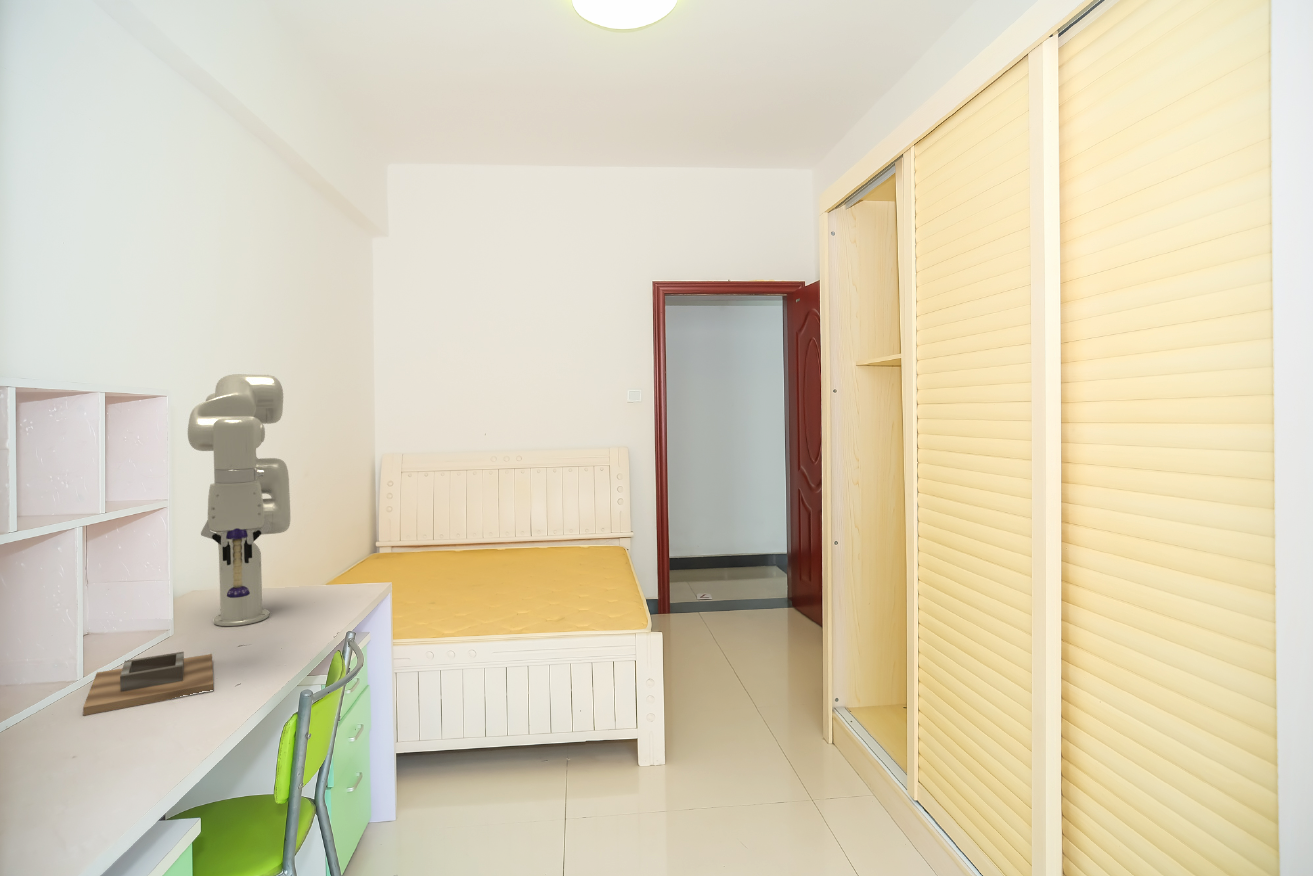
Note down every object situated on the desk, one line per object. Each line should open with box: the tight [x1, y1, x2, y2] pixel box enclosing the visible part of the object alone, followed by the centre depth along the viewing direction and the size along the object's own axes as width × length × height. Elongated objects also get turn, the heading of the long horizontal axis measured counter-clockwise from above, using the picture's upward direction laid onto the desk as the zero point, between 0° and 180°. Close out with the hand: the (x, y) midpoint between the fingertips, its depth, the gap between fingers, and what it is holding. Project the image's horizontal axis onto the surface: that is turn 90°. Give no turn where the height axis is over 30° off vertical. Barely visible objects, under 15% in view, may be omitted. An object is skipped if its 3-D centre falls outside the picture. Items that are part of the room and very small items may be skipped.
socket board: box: [82, 651, 214, 717], centre depth 141 cm, size 20×20×4 cm
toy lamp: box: [226, 528, 250, 598], centre depth 148 cm, size 5×5×17 cm
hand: (237, 562), depth 149 cm, fingers closed on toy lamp, 2 cm apart
